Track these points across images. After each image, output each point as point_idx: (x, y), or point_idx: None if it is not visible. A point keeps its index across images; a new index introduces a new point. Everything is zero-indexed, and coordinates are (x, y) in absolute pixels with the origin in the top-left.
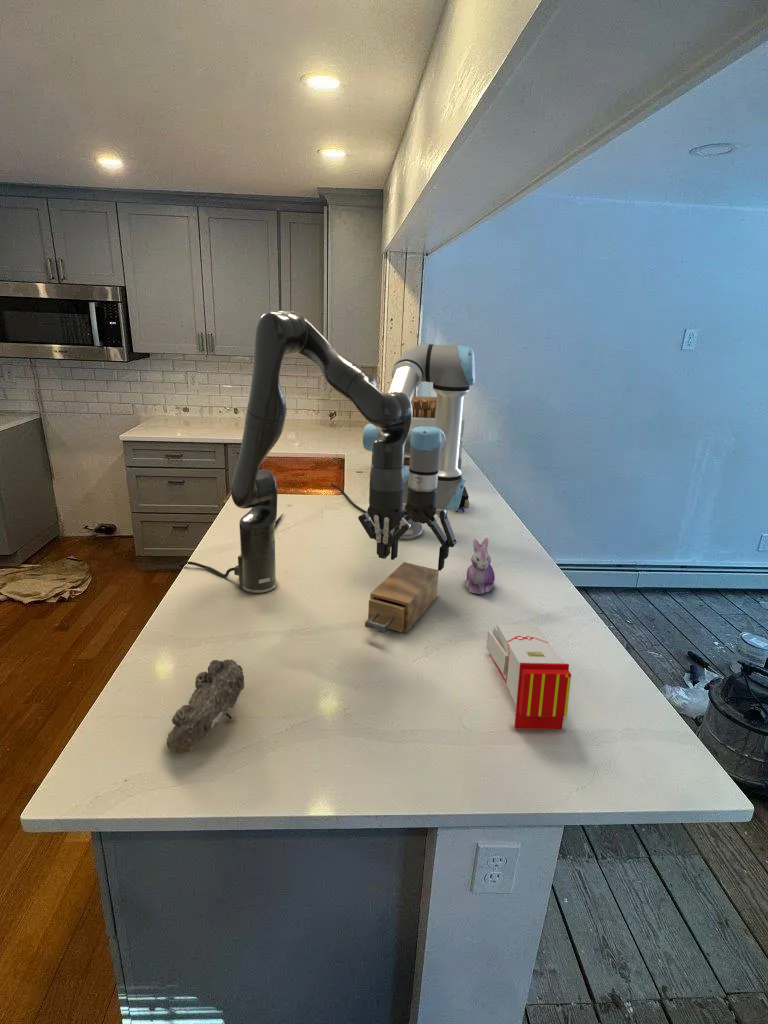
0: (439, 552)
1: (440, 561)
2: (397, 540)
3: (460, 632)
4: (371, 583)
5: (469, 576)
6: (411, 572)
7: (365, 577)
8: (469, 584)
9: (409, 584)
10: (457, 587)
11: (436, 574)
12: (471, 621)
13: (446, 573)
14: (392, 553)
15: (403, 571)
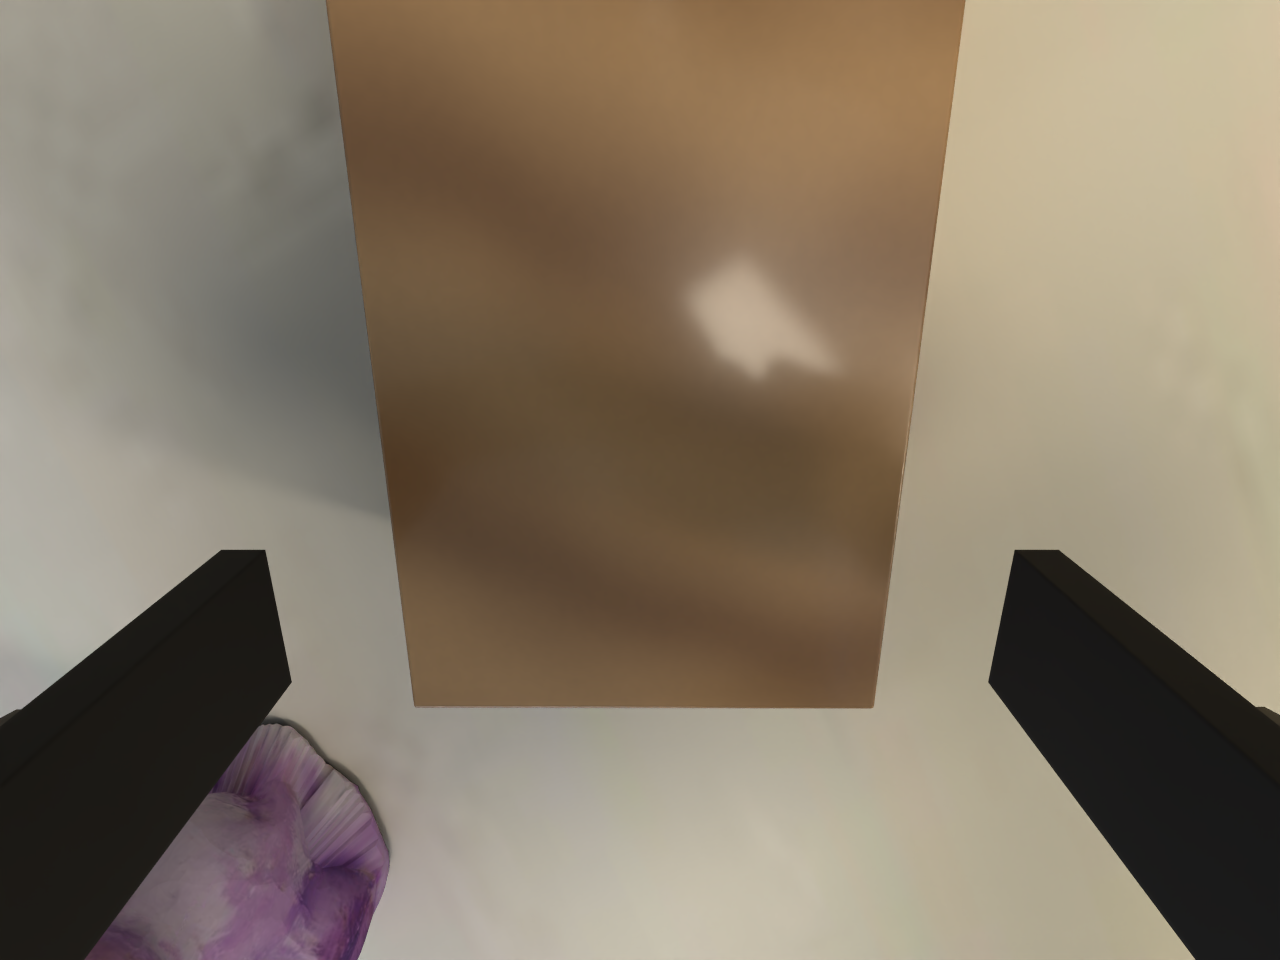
0: (18, 765)
1: (128, 635)
2: (1189, 904)
3: (13, 57)
4: (1078, 501)
5: (254, 839)
6: (682, 494)
7: (1159, 572)
8: (307, 795)
9: (557, 121)
10: (414, 755)
11: (411, 624)
12: (48, 305)
13: (576, 898)
14: (1099, 605)
15: (789, 471)
